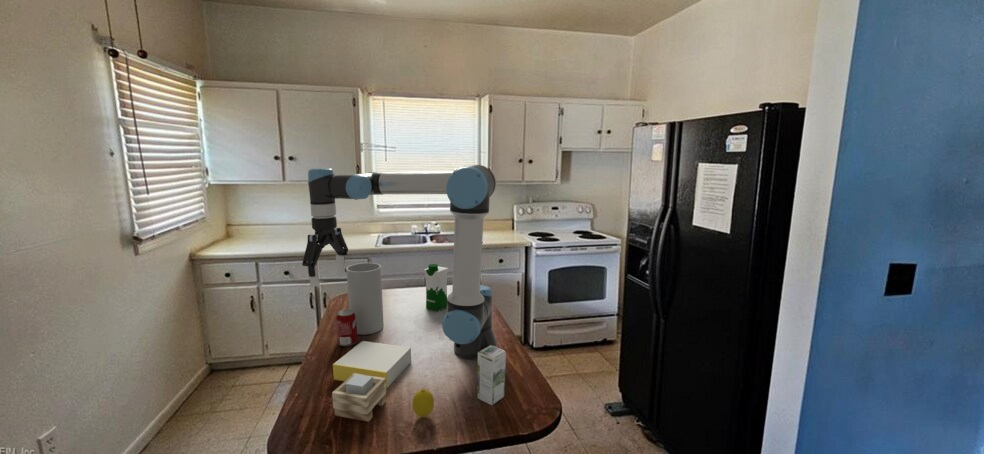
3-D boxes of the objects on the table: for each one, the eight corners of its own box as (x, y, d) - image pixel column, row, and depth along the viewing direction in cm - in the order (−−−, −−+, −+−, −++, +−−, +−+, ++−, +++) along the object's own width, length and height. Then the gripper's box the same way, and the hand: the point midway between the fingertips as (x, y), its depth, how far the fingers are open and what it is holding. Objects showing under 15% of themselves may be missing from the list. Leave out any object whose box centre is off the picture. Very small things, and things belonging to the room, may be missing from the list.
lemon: (435, 410, 113) (434, 383, 112) (433, 423, 108) (432, 395, 106) (414, 410, 113) (413, 383, 112) (411, 424, 108) (410, 395, 106)
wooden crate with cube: (386, 400, 118) (385, 378, 116) (367, 423, 108) (366, 398, 107) (355, 395, 120) (353, 373, 119) (333, 416, 111) (332, 392, 109)
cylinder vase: (346, 327, 166) (342, 266, 161) (376, 319, 173) (373, 261, 168) (356, 338, 156) (353, 274, 151) (388, 330, 163) (385, 268, 159)
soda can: (351, 348, 148) (349, 316, 146) (334, 346, 149) (332, 314, 147) (361, 340, 155) (359, 309, 152) (344, 338, 156) (342, 307, 154)
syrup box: (489, 389, 123) (489, 343, 120) (505, 397, 119) (506, 350, 117) (476, 398, 119) (476, 351, 116) (492, 406, 115) (493, 357, 112)
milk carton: (422, 308, 185) (421, 265, 181) (436, 302, 193) (435, 260, 189) (438, 312, 180) (437, 268, 177) (451, 306, 188) (450, 263, 184)
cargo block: (373, 389, 115) (372, 376, 114) (363, 400, 110) (362, 386, 110) (357, 387, 116) (356, 374, 116) (346, 397, 112) (345, 383, 111)
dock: (411, 361, 139) (410, 347, 138) (386, 388, 124) (386, 372, 123) (363, 354, 144) (362, 340, 143) (333, 379, 128) (332, 364, 127)
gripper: (337, 210, 148) (341, 268, 152) (285, 222, 125) (292, 290, 129) (356, 211, 146) (359, 270, 150) (306, 223, 123) (312, 292, 127)
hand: (328, 279), depth 139 cm, fingers open, 13 cm apart
